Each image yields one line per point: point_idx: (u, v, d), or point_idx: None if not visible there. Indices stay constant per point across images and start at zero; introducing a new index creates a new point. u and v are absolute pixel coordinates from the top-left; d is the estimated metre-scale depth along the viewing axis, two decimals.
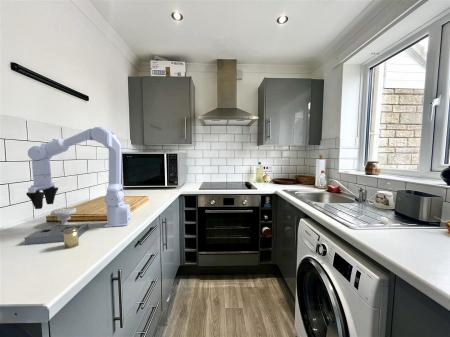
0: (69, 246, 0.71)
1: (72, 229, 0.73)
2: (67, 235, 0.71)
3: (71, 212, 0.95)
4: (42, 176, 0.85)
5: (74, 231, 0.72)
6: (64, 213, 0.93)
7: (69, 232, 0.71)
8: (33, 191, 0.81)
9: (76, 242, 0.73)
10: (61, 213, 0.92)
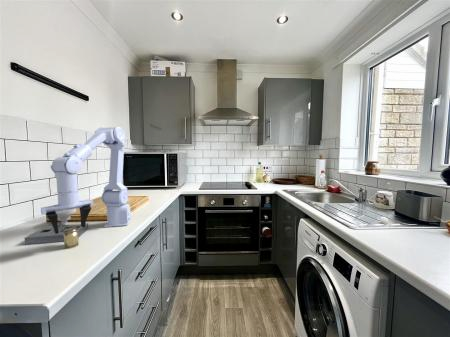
0: (69, 246, 0.71)
1: (72, 229, 0.73)
2: (67, 235, 0.71)
3: (71, 212, 0.95)
4: (60, 194, 0.69)
5: (74, 231, 0.72)
6: (64, 213, 0.93)
7: (69, 232, 0.71)
8: (42, 212, 0.66)
9: (76, 242, 0.73)
10: (61, 213, 0.92)
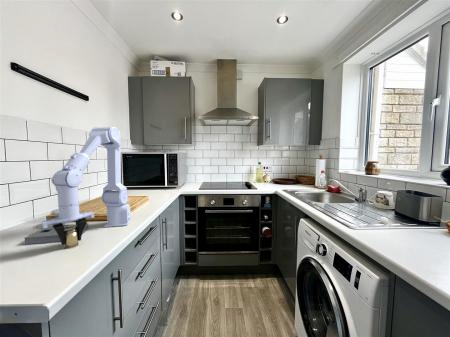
0: (69, 246, 0.71)
1: (72, 229, 0.73)
2: (67, 235, 0.71)
3: None
4: (61, 207, 0.69)
5: (74, 231, 0.72)
6: None
7: (69, 232, 0.71)
8: (43, 226, 0.67)
9: (76, 242, 0.73)
10: None
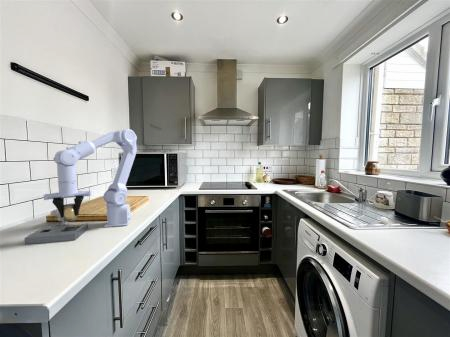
0: (66, 219, 0.78)
1: (70, 204, 0.80)
2: (64, 210, 0.78)
3: None
4: (58, 183, 0.77)
5: (70, 207, 0.79)
6: None
7: (65, 207, 0.78)
8: (44, 198, 0.76)
9: (72, 217, 0.79)
10: None
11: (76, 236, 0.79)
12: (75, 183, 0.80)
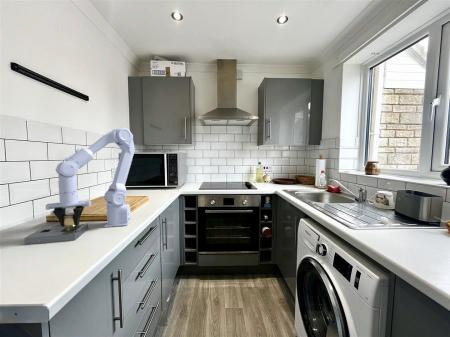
0: (65, 229, 0.80)
1: (70, 214, 0.82)
2: (64, 219, 0.80)
3: (71, 212, 0.95)
4: (59, 194, 0.79)
5: (70, 216, 0.80)
6: None
7: (65, 217, 0.80)
8: (46, 208, 0.79)
9: (72, 226, 0.81)
10: None
11: (76, 236, 0.79)
12: (75, 194, 0.81)
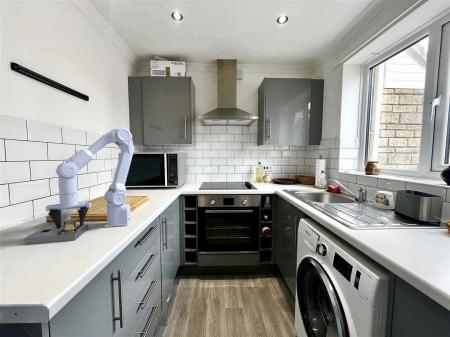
0: None
1: (71, 220, 0.82)
2: (64, 225, 0.81)
3: (71, 212, 0.95)
4: (59, 195, 0.79)
5: (70, 223, 0.81)
6: (64, 213, 0.93)
7: (66, 223, 0.80)
8: (46, 209, 0.79)
9: None
10: (61, 213, 0.92)
11: (76, 236, 0.79)
12: (75, 195, 0.81)
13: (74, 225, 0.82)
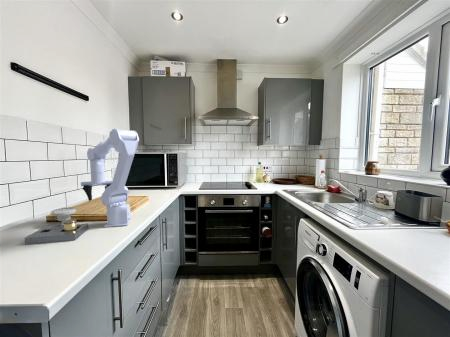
0: None
1: (71, 220, 0.82)
2: (64, 225, 0.81)
3: (71, 212, 0.95)
4: None
5: (70, 223, 0.81)
6: (64, 213, 0.93)
7: (66, 223, 0.80)
8: (81, 185, 1.00)
9: None
10: (61, 213, 0.92)
11: (76, 236, 0.79)
12: (102, 174, 1.01)
13: (74, 225, 0.82)
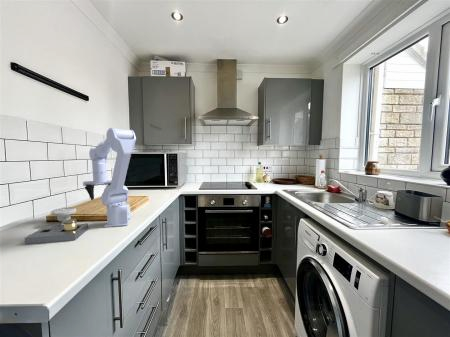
0: None
1: (71, 220, 0.82)
2: (64, 225, 0.81)
3: (71, 212, 0.95)
4: None
5: (70, 223, 0.81)
6: (64, 213, 0.93)
7: (66, 223, 0.80)
8: (83, 184, 1.01)
9: None
10: (61, 213, 0.92)
11: (76, 236, 0.79)
12: (104, 174, 1.03)
13: (74, 225, 0.82)
